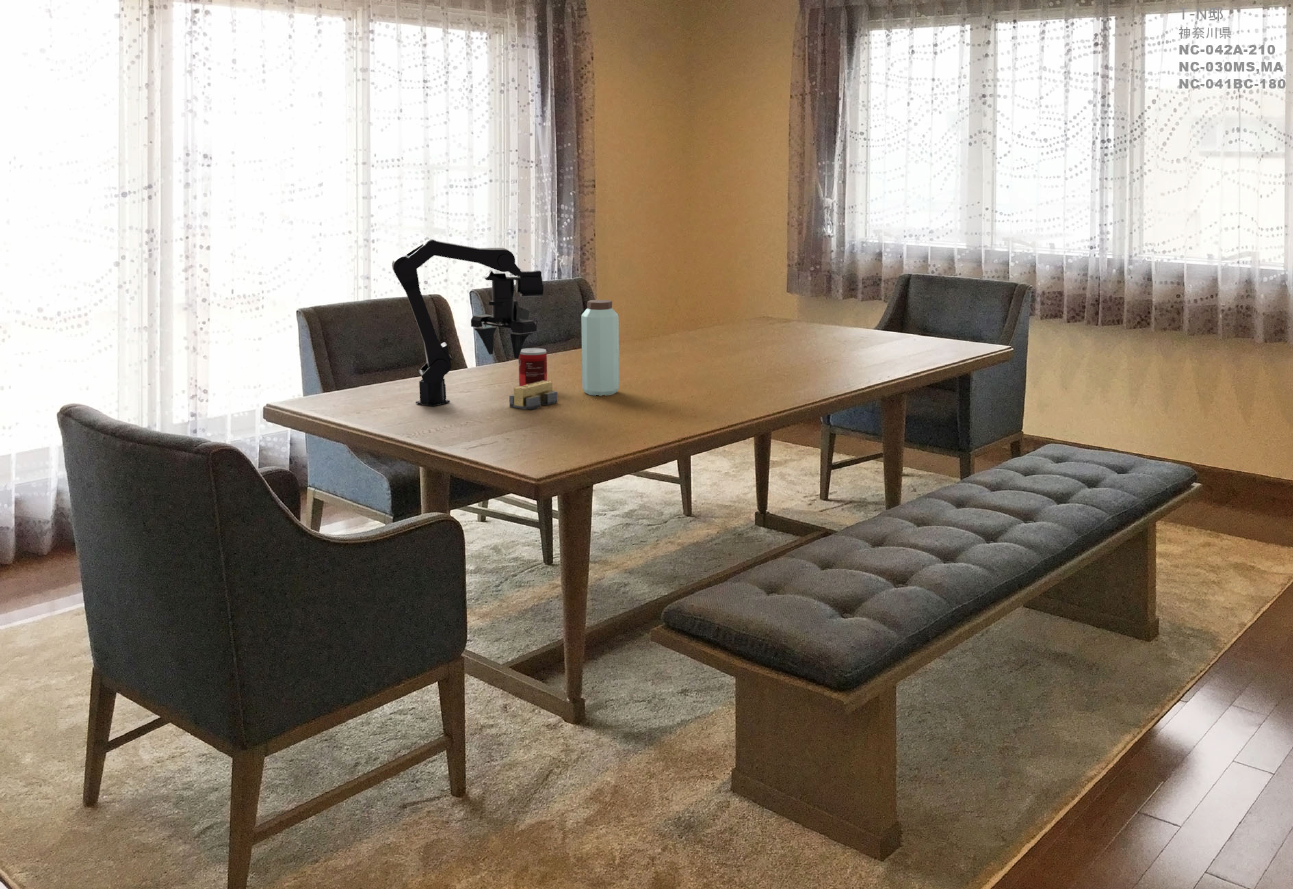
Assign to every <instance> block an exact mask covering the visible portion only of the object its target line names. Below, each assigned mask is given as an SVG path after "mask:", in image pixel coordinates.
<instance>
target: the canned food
mask: <svg viewBox="0 0 1293 889" xmlns="http://www.w3.org/2000/svg"><path fill="white" fill-rule="evenodd" d="M547 355H548V353H547V350H546V349H545V348H540V347H529V348H528V347H527V348H522V349H521V352H520V355H519V358H518V379H519V380H518V382H519V386H523V385H527V384H531V383H535V382H539V381H548V356H547ZM519 386H518V387H519Z"/></svg>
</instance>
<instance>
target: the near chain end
mask: <svg viewBox="0 0 1293 889" xmlns="http://www.w3.org/2000/svg"><path fill="white" fill-rule="evenodd" d="M508 396H509V397H508V398H509V401H508V402H509V408H515V409H520V410H526V411H532V410H536V409H540V408H541V404H540V396H537V395H536V396H532V397H528V398H526V406H517V405H514V393H513V394H510V395H508Z"/></svg>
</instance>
